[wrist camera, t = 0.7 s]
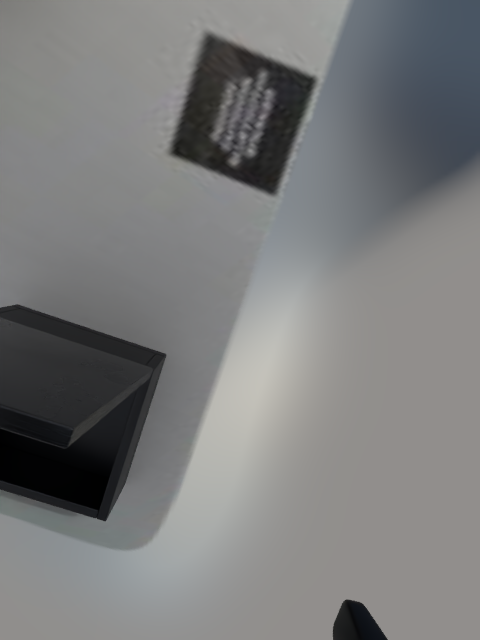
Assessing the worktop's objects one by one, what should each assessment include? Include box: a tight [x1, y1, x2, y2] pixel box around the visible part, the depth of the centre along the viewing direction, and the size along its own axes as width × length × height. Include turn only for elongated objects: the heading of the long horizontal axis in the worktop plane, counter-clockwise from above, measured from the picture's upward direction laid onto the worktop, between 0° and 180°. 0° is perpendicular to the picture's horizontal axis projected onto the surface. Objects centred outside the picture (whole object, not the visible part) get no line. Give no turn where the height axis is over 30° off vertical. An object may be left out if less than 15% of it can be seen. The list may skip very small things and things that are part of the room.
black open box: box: [0, 305, 166, 521], centre depth 22 cm, size 10×10×4 cm
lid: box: [0, 318, 153, 449], centre depth 14 cm, size 11×10×1 cm
